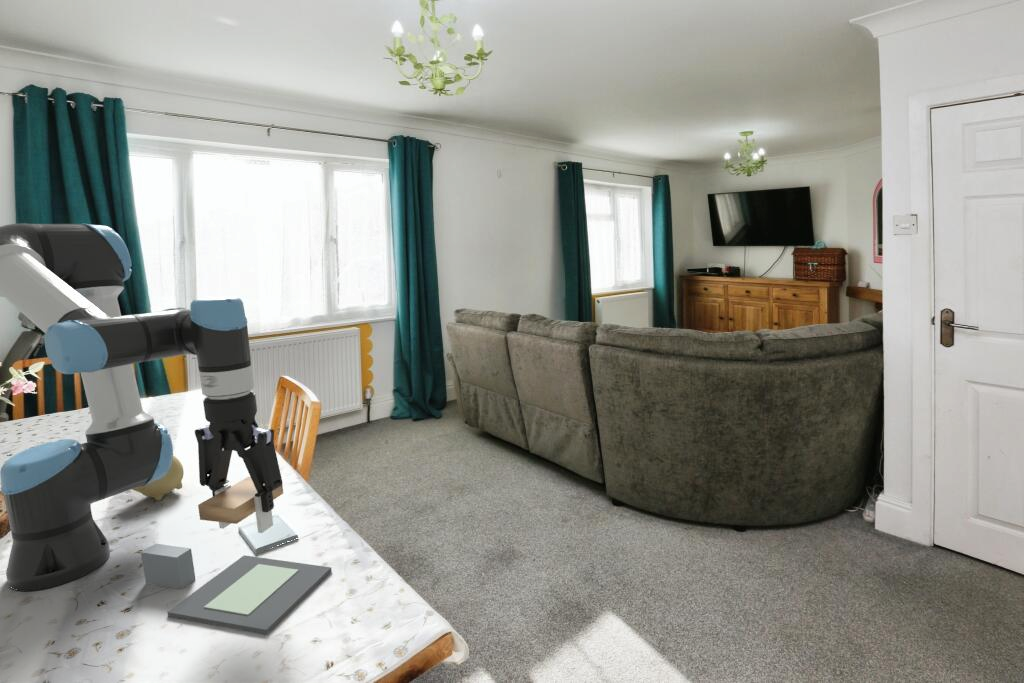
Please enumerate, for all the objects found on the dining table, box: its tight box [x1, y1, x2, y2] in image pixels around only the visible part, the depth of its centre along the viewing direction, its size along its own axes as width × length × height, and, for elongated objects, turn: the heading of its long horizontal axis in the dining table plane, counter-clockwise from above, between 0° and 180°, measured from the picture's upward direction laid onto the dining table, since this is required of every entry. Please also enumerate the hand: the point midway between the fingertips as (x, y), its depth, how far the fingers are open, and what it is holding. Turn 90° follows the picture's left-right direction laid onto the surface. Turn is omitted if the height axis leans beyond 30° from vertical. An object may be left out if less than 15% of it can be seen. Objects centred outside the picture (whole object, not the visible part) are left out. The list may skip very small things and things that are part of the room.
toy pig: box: [131, 455, 184, 502], centre depth 134 cm, size 10×12×11 cm
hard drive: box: [238, 514, 299, 555], centre depth 115 cm, size 2×8×12 cm
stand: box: [140, 543, 196, 590], centre depth 99 cm, size 8×3×6 cm, turn 74°
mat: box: [167, 554, 332, 635], centre depth 95 cm, size 19×17×1 cm
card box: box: [197, 476, 284, 525], centre depth 92 cm, size 11×7×2 cm, turn 164°
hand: (246, 526), depth 93 cm, fingers closed on card box, 7 cm apart
